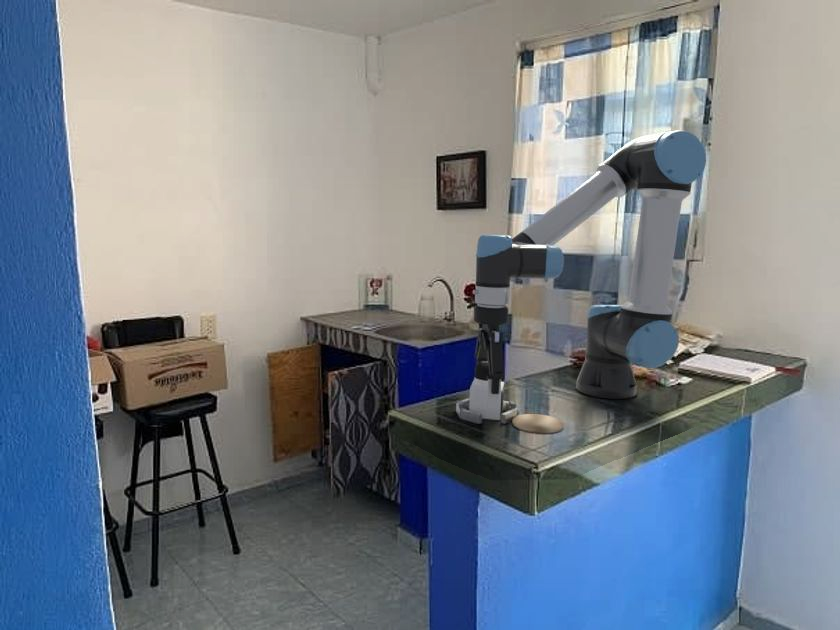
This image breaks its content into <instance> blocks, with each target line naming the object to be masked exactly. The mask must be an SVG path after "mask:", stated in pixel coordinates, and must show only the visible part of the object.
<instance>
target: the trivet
mask: <svg viewBox="0 0 840 630" xmlns="http://www.w3.org/2000/svg"><path fill="white" fill-rule="evenodd" d="M511 423H512V425H513V427H515V428H517V429H519V430H521V431H524V432H528V433H534V434H554V433H558V432H561V431H562V430H564V426H565V425H564V422H563V421H562V420H560V419H559V418H556V417H554V416H551V415H546V414H541V413H540V414H539V413H525V414H524V413H523V414H517V416H516V417H514V418H513V420H512V421H511Z"/></svg>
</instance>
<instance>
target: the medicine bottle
mask: <svg viewBox="0 0 840 630" xmlns="http://www.w3.org/2000/svg"><path fill="white" fill-rule="evenodd" d="M476 363H477V364H476ZM476 363H475V365H474V379H473V381H472V382H471V384H470V388H469V398H470V401H469V408H468V410H469V411H473V412H477V413H480V414H482V420H491V421H501V414H502V413H504V410H503V400H504V398H505V397H504V396H505V382H504V381H501V392H500V408H487V390H488V379H486V377H487V375H489V366H488V362H480V363H478V362H476ZM495 373H498V372H495Z"/></svg>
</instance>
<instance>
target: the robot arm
mask: <svg viewBox="0 0 840 630" xmlns="http://www.w3.org/2000/svg"><path fill="white" fill-rule="evenodd" d="M706 166H707V153H706V149H705V145H704V144H703V143H702V142H701V141H700V139H699V137H698V136H697V135H695V134H693V133H691V132H690V131H687V130H668V131H664V132H661V133H660V132H659V133H657V134H650V135H645V136H640V137H638V138H635V139H633V140H631V141H629V142H627V143H626V144H625V145H624V146H623V147H621V148H619V149H618V150H617V151H615V153H613V154H612V155H611V156H609V157H608V158H607V159H606V160H605V161H604V162H602V163H600V164H599V165H598V166H597V168H596V173H595V174H593V175H592V176H591V177H589V178H588V179H587V180H586V181H584V182H583V183H582V184H581V185H580V186H578V187H577V188H575V189H574V190H573V191H572V192H570V193H569V194H568V195H567V196H565V197H564V198H563V199H562V200H560V201H559V202H558V203H555V205H554V206H553V207H551V208H550V209H549V210H548V211H546V212H545V213H544V214H543V215H541V216H540V217H538V218H537V219H536V220H534V222H532V223H531V224H529V226H527V227H526V228H524V229H523V230H522V231H521V232H519V233H518V234H516V235H515V236H514V237H512V236H511V235H503V234H482V235H480V236H479V237H478V240H477V246H476V254H475V257H476V259H475V260H476V261H475V262H476V263H475V266H476V267H475V289H473V290H472V294H473V295H474V303H475V306H474V307H473V309H474V311H473V321H474V322H475V324H478V332H477V337H476V345H475V352H474V358H475V362H476V363H475V365H476V364H477V363H480V362H488V366H489V375H487V377H486V379H488V390H487V408H500V392H501V382H502V379H504V378H505V368H504V365H505V364H504V350H503V348H504V347H503V346H504V345H503V342H504V341H503V340H504V337H503V336H504V334H503V332H502V331H499V326H500V325H505V324H507V323H508V321H509V307H508V305H509V304H510V294H511V293H510V292H511V291H510V290H511V286H510V285H511V284H510V283H511V279H515V280H516V279H530V280H531V279H535V280H536V279H537V280H539V279H540V280H542V279H543V280H548V279H549V280H551V279H557V278H559V276H561V274H562V272H563V269H564V263H565V260H564V259H565V258H564V253H563V251H562V249H561V247H559V246H558V245H556V244H558V243H559V242H560V241H561V240H563V238H566V236H568V235H569V234H570V233H571V232H572V231H574V230H575V229H577V228H578V227H579V226H580V225H582V224H583V223H584V222H585V221H586V220H588V219H589V218H590V217H592V216H593V215H594V214H596V213H597V212H598V211H599V210H601V209H602V208H603V207H605V206H606V205H607V204H608V203H609V202H611V201H612V200H613V199H615V198H623V197H624V196H625V195H627V194H628V193H629V192H631V191H633V190H635V189H636V192H637V194H639V196H640V197H641V201H642V202H641V206H640V207H641V208H640V212H639V213H640V215H639V221H638V229H637V236H636V243H635V252H634V257H633V266H632V272H631V278H630V279H631V280H630V287H629V292H628V293H629V295H628V300H627V301H625V303H623V304H594V305H591V306H590V307H589V311H588V315H587V327H586V328H587V329H586V342H585V343H586V344H585V356H584V358H585V360H584V362H583V365H582V367H581V369H580V371H579V374H578V377H577V379H576V383H575V385H576V386H575V388H576V390H577V391H578V392H580V393H582V394H585V395H587V396H592V397H596V398H601V399H602V398H603V399H610V400H611V399H612V400H619V399H620V400H622V399H629V398H633V397H635V396H636V394H637V383H636V382H637V381H636V379H635V375H634V370H633V366H632V365H634V366H636V367H641V368H645V369H656V368H661V367H662V366H664V365H666V363H668V362H669V361H670V360H672V358H673V357H674V356H675V354H676V352H677V350H678V347H679V344H680V343H679V341H680V337H679V333H678V331H677V329H676V327H675V326H674V325H673V324H672V318H673V311H672V309H671V308H670V307H669V306H668V297H669V292H670V286H671V285H670V284H671V279H672V278H671V277H672V273H673V263H674V257H675V251H676V250H675V249H676V244H677V238H678V237H677V236H678V229H679V224H680V216H681V212H682V211H681V210H682V204H683V203H682V202H683V201H684V200H685V199H686V198H687V197H688V196H690V195H691V193H692V192H691V191H692V185H693V183H694V182H695V181H697V180H698V178H699V177H700V176H702V174H703V173H704V170H705V169H706ZM495 372H498V373H495Z"/></svg>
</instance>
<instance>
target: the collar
mask: <svg viewBox="0 0 840 630" xmlns="http://www.w3.org/2000/svg"><path fill="white" fill-rule="evenodd" d="M469 401H470V397H468V398H465V399H463V400H457V402H456V405H455V406H456V407H455V409H456V410H455V412H456V414H457V415H458V418H459V419H461V420H463V421H468V422H471V423H475V424H482V423H483V419H482V414H480V413H477V412H473V411H469ZM504 411H505V412H504ZM516 416H518V408H517V404H516V403H515V401H514V400H509V401H508V400H504V399H503V412H502V414H501V420H500V423H501V424H504V425H505V424H508V423H510V422H512V420H513V418H514V417H516Z"/></svg>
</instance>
